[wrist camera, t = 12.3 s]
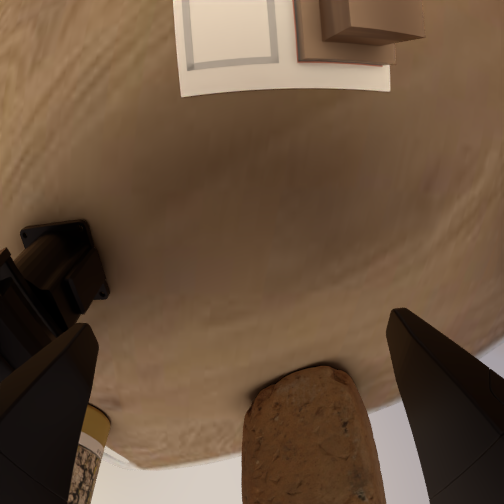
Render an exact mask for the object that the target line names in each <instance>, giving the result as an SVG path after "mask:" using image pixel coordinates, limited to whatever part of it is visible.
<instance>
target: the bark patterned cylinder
mask: <svg viewBox="0 0 504 504" xmlns="http://www.w3.org/2000/svg"><path fill="white" fill-rule="evenodd" d="M109 430H110V423H109V420H108V419H107V417H106V416H105V415H104V414H103V413H102V412H100V411H99V410H98V409H96V408H94V407H93V406H91V405H88V406H87V410H86V414H85V418H84V422H83V426H82V431H81V435H80V439H79V444H78V449H77V453H76V458H75V464H74V469H73V474H72V480H71V486H70V492H69V498H68V504H90V503H91V499H92V495H93V491H94V487H95V483H96V479H97V474H98V471H99V467H100V463H101V459H102V456H103V452H104V447H105V444H106V440H107V437H108V433H109Z"/></svg>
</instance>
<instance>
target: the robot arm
mask: <svg viewBox="0 0 504 504" xmlns="http://www.w3.org/2000/svg"><path fill="white" fill-rule="evenodd" d="M79 225H81V226H82V227H83V229H81V228H80V227H79ZM25 233H26V234H27V235H26V234H25ZM20 236H21V239H22V241H23V244H24V247H25V250H24V251H23V252H22V253H21V254H20V255H19V256H18V257H17V258H16V259H15V260H14V261H13V260H12V258H11V256H10V255H11V254H10V252H9V250H8V249H7V247H6V248H4V249H3V250H1V251H0V504H68V498H69V492H70V486H71V480H72V474H73V469H74V464H75V458H76V453H77V449H78V444H79V439H80V435H81V431H82V426H83V422H84V418H85V414H86V410H87V406H88V402H89V398H90V394H91V390H92V385H93V379H94V373H95V367H96V361H97V356H98V351H99V345H98V341H97V339H96V337H95V335H94V333H93V331H92V329H91V327H90V325H89V324H87V323H76V322H77V320H78V318H79V317H80V315H81V314H85V313H86V311H87V309H88V307H89V306H90V304H91V302H92V301H93V300H104V299H107V298H108V296H109V294H110V292H109V289H108V286H107V283H106V280H105V279H106V277H105V274H104V271H103V268H102V265H101V262H100V259H99V256H98V253H97V250H96V248H95V247H94V243H93V240H92V237H91V233H90V230H89V226H88V224H87V222H86V221H84V220H73V221H65V222H58V223H51V224H44V225H37V226H30V227H25V228H23V229H22V230H21V232H20ZM102 292H104V294H103V293H102ZM386 338H387V342H388V346H389V351H390V355H391V360H392V364H393V369H394V374H395V378H396V382H397V385H398V388H399V391H400V395H401V398H402V401H403V404H404V407H405V410H406V414H407V417H408V420H409V424H410V427H411V430H412V434H413V437H414V441H415V444H416V448H417V451H418V455H419V459H420V463H421V467H422V471H423V475H424V479H425V483H426V487H427V492H428V496H429V499H430V500H429V501H430V504H504V379H503V378H502V377H501V376H499V375H498V374H497V373H495V372H494V371H493V370H491V369H489V367H487V366H486V365H485V364H483V363H482V362H481V361H479V360H478V359H477V358H475V357H474V356H473V355H471V354H470V353H468V352H467V351H466V350H464V349H463V348H462V347H460V346H459V345H458V344H456V343H455V342H453V341H452V340H451V339H449V338H448V337H446V336H445V335H444V334H442V333H441V332H439V331H438V330H437V329H435V328H434V327H432V326H431V325H430V324H428V323H427V322H425V321H424V320H423V319H421V318H420V317H418V316H417V315H415V314H414V313H413V312H411V311H410V310H408V309H407V308H396V309H393V310H392V311H391V313H390V317H389V321H388V325H387V329H386Z"/></svg>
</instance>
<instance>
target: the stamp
mask: <svg viewBox="0 0 504 504" xmlns="http://www.w3.org/2000/svg"><path fill="white" fill-rule="evenodd" d="M294 9H295V21H296V34H297V48H298V61H318V62H343V63H359V64H370V65H395V64H396V51H395V43H398V42H403V41H408V40H414V39H420V38H426V37H425V25H424V14H423V5H422V0H294Z"/></svg>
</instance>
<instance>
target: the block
mask: <svg viewBox="0 0 504 504" xmlns="http://www.w3.org/2000/svg"><path fill="white" fill-rule="evenodd" d="M242 502H243V504H386V499H385V493H384V487H383V480H382V475H381V471H380V464H379V460H378V453H377V449H376V445H375V441H374V438H373V432H372V428H371V424H370V420H369V417H368V414H367V411H366V408H365V406H364V403H363V401H362V399H361V396H360V394H359V392H358V390H357V388H356V386H355V384H354V382H353V380H352V378H351V377H350V376H349V375H348V374H347V373H346V372H344V371H342V370H336V369H333V368H331V367H330V366H318V367H313V368H307V369H304V370H301V371H297V372H294V373H292V374H290V375H288V376H286V377H284V378H282V379H281V380H280V381H279V382H277V384H273V385H270V386H268V387H267V388H265V389H263V390H261V391H260V393H259V394H258V396H257V397H256V399H255V400H254V401H253V402H252V404H251V407H250V408H249V410H248V411H247V413H246V415H245V419H244V426H243V441H242Z"/></svg>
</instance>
